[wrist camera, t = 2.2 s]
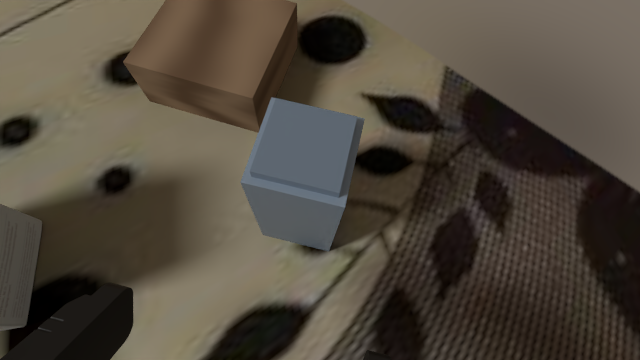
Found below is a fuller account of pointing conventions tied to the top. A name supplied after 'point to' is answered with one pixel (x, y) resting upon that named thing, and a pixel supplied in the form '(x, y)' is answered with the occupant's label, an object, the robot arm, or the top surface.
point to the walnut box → (216, 57)
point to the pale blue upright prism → (301, 171)
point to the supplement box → (17, 265)
